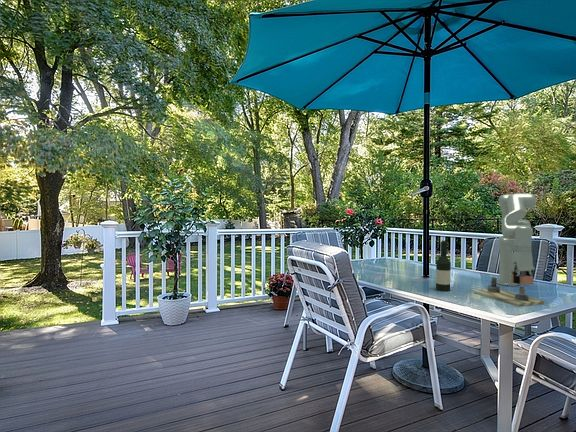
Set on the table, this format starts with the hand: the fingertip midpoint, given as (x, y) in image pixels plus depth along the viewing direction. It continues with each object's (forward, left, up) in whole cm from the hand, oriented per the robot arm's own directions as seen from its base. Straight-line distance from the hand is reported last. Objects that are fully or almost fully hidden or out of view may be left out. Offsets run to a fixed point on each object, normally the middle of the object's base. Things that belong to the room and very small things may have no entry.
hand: (522, 282), depth 195 cm
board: (0, -9, -10) cm, 14 cm away
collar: (0, 0, 0) cm, 0 cm away
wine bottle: (+21, -35, -11) cm, 42 cm away
